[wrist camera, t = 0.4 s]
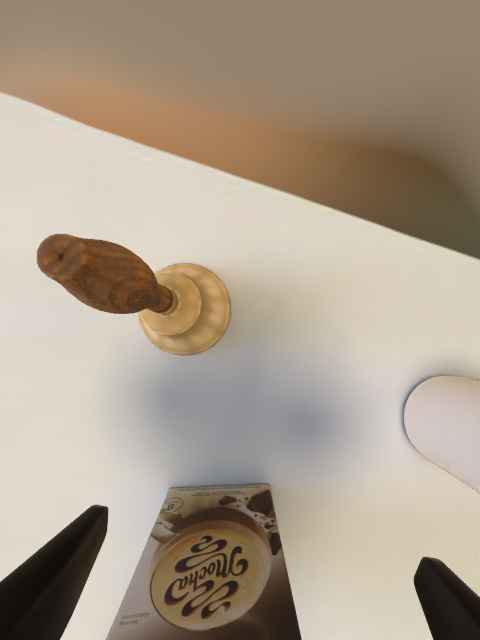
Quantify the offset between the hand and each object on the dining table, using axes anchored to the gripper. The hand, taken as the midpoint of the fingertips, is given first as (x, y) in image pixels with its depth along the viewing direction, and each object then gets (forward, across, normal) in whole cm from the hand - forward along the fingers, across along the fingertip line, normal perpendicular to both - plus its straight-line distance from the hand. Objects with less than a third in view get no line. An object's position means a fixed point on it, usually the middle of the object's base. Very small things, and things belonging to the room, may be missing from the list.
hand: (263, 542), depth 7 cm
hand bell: (+17, +7, -3) cm, 18 cm away
